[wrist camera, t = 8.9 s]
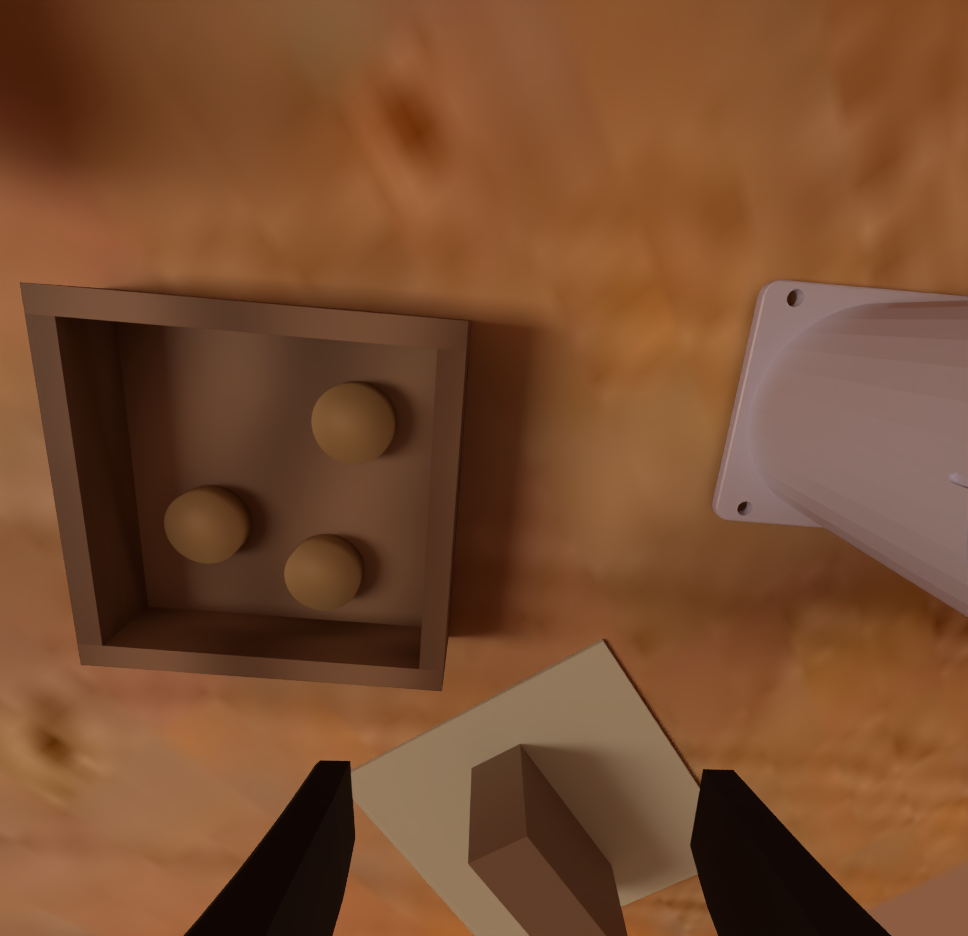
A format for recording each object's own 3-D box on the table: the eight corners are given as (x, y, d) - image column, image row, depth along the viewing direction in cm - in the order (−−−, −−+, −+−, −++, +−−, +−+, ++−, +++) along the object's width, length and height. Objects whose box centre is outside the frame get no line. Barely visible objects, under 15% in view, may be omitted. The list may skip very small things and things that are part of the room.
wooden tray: (471, 320, 17) (468, 321, 14) (448, 637, 20) (442, 691, 17) (100, 288, 17) (19, 282, 14) (139, 614, 20) (80, 664, 17)
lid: (599, 629, 21) (630, 717, 16) (734, 837, 24) (793, 961, 19) (341, 764, 23) (303, 877, 18) (496, 941, 26) (497, 1075, 21)
